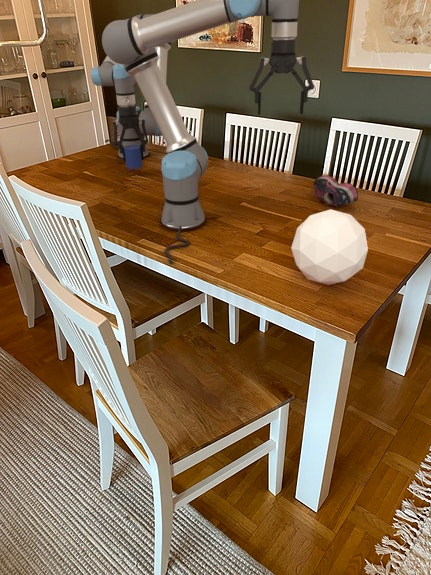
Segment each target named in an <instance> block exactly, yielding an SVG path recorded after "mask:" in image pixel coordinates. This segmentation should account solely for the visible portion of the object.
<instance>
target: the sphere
mask: <svg viewBox="0 0 431 575" xmlns="http://www.w3.org/2000/svg"><path fill="white" fill-rule="evenodd" d="M290 250H291V252H292V255H293V259H294V263H295V265H296V267H297V268H298V269H299V270H300V272H301V273H302V274H303V275H304V276H305V277H306V279H307V280H309V281H311V282H315V283H319V284H323V285H327V286H329V285H335V284H339V283H343V282H346V281H348V280H349V279H351V278H352V277H353V276H354V275H356V274H357V273H358V272H360V271H361V270H363V269H364V265H365V262H366V259H367V254H368V251H369V248H368V241H367V233H366V228H364V226H363V225H362V224H361V223H360V222H359V221H357V219H355V217H354V216H353V215H352V214H350V213H347V212H346V213H345V212H342V211H339V210H334V209H331V208H330V209H327V210H324V211H321V212H317V213H313V214H310V215H309V216H307V218H305V220H304V221H303V222H302V223H301V224H300V225H299V226H298V227H297V228H296V230H295V234H294V237H293V241H292V244H291V249H290Z"/></svg>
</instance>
